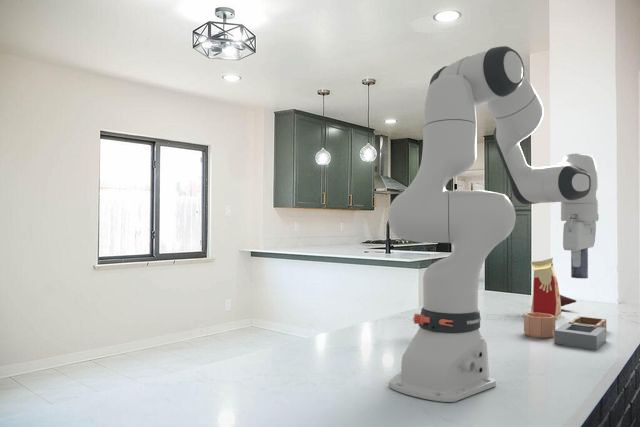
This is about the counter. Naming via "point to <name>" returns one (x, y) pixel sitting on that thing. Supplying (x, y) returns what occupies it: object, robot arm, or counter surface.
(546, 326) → the cup
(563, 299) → the icecream
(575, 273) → the cell
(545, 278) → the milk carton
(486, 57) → the robot arm
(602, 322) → the trough
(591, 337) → the grey rectangular frame box
